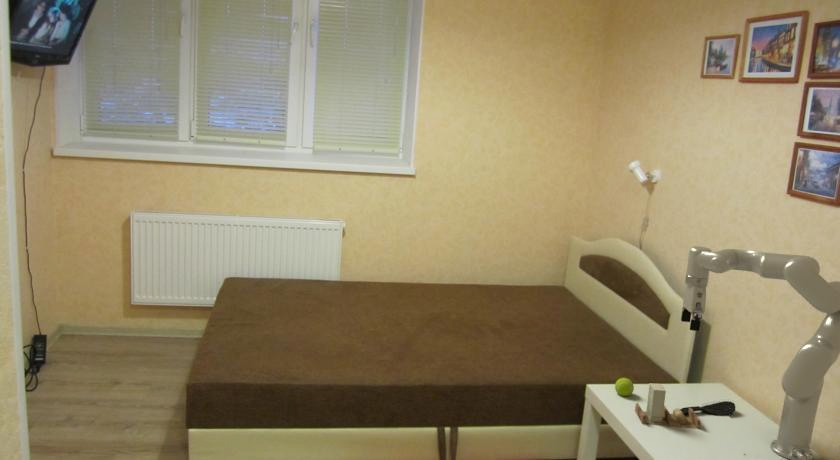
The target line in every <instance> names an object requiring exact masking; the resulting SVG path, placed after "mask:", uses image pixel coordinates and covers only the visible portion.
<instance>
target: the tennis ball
mask: <svg viewBox="0 0 840 460" xmlns="http://www.w3.org/2000/svg"><path fill="white" fill-rule="evenodd" d="M614 390H615V392H616V394H618V395H619V396H622V397H629V396H631V395H632V394H633V392H634V390H635V387H634V383H633V381H631V380H630V379H629V378H626V377H621V378H619V379H617V380H616V381H615V385H614Z"/></svg>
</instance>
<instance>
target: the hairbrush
mask: <svg viewBox="0 0 840 460" xmlns="http://www.w3.org/2000/svg"><path fill="white" fill-rule="evenodd" d="M722 400H723V399H721V401H713V402H712V403H709V404H707V403H704V405H702V406H687V407H682V408H679V409H680V410H681V411H682V413H683V414H684V415H688V413H689V412H688V411H689V408H692V410H693V411H694V412H699V411H702V412H704V413H706V414H707V415H711V416H717V417H723V416H724V417H725V416H731V415H732V414H733V413H734V412H735V411H736V404H735V402H733V401H730V400H728V401H727V400H723V401H722Z"/></svg>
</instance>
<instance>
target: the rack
mask: <svg viewBox="0 0 840 460" xmlns="http://www.w3.org/2000/svg"><path fill="white" fill-rule="evenodd" d="M634 408H635V409H634V412H635V414H636V415H637V417H638V419H639V421H640V422H641V424H643V425H653V426H661V427H662V426H664V427H665V426H666V427H674V428H683V429H684V428H685V429H686V428H687V429H695V430H696V429H698V430H700V427H701V420H700V418H699V416H698V415H697V414H696V411H693V410H692V408H689V411H688V412H689V413H688V414H687V415H684V416H685V417H686V419H687V420H688V422H687V424H686V425H681V424H680V423H679V422H678V420H677V419H676V417H675V416H674V414H673V413H670V411H669V410H668V409H667V407H666V406H665V405H664V410H663V419H662V422H653V421H650V420H649V418H648V417H647V415H646V411H644V410H643V409H642V408H641V406H640V404H639V403H638V402H636V403H635V407H634Z"/></svg>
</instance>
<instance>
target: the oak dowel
mask: <svg viewBox="0 0 840 460" xmlns="http://www.w3.org/2000/svg"><path fill="white" fill-rule="evenodd" d="M680 409H681V408H675V409H673V411H672V414H674V416H675V417H676V419H677V420H678V422H679V423H680V424H681V425H686V424H687V422H688V420H687V419H686V417H685V416H684V414H683V413H682V411H681V410H680Z"/></svg>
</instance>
